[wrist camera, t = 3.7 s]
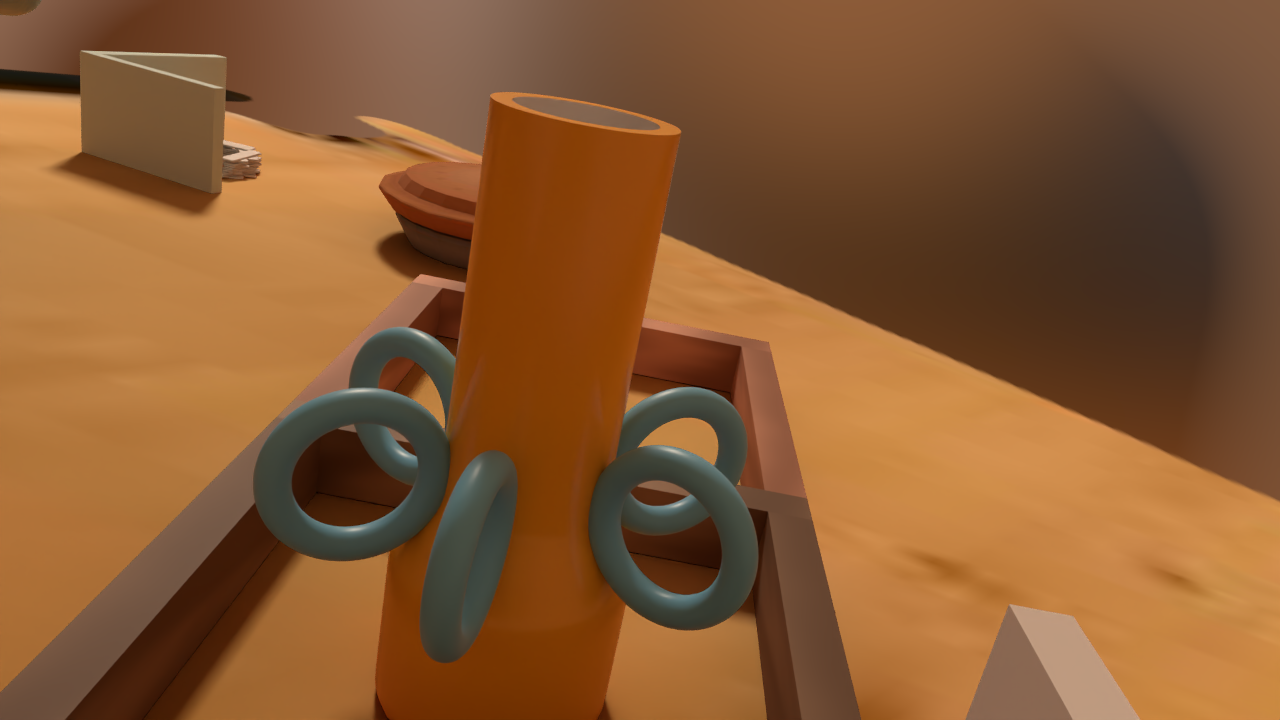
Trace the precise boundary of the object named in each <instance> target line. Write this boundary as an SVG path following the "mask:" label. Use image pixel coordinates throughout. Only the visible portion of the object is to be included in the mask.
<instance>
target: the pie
mask: <svg viewBox="0 0 1280 720" xmlns="http://www.w3.org/2000/svg"><path fill="white" fill-rule="evenodd" d="M480 173H481V164H471V163H458V162H432V163H423V164H417V165H414V166H412V167H409V168H408V169H407V170H406V171H402V172H396V173H392V174H388V175H385V176H384V178H383V179H382V181H381V183H380V185H379V189H380V190H381V192H382V193H383V195H384V196H385V198H386V199H387V201H388V202H389V203H390V205H391V206H392V208H393V209H394V210H395V211H396V215H397V218H398V220H399V222H400V224H401V226H402V228H403V230H404V232H405V234H406V236H407V238H408V240H409V241H410V243H411V244H412V246H413V247H414V248H415V249H417V250H418V251H420V252H421V253H423V254H425V255H426V256H428V257H431V258H433V259H436V260H438V261H441V262H443V263H446V264H450V265H453V266H457V267H461V268H464V269H468V264H469V256H470V249H471V241H472V234H473V226H474V218H475V211H476V203H477V196H478V188H479V180H480Z"/></svg>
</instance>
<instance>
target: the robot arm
mask: <svg viewBox="0 0 1280 720" xmlns="http://www.w3.org/2000/svg"><path fill="white" fill-rule="evenodd" d="M40 2H41V0H0V15H10V16H18V15H23V14H27V13H29V12H31V11H33V10H34V9H35V8H36V7H37V6H38V5H39V4H40ZM966 720H1140V719H1139V717H1138V715H1137V714H1136V712H1135V711H1134V709H1133V708H1132V706H1131V705H1130V703H1129V702H1128V700H1127V698H1126V697H1125V695H1124V694H1123V692H1122V691H1121V689H1120V688H1119V686H1118V685H1117V683H1116V681H1115V680H1114V678H1113V677H1112V675H1111V674H1110V672H1109V671H1108V669H1107V668H1106V666H1105V664H1104V663H1103V661H1102V660H1101V658H1100V657H1099V655H1098V654H1097V652H1096V651H1095V649H1094V647H1093V646H1092V644H1091V643H1090V641H1089V640H1088V638H1087V637H1086V635H1085V634H1084V632H1083V631H1082V629H1081V627H1080V626H1079V624H1078V623H1077V621H1076V620H1075V618H1074V617H1073V616H1070V615H1064V614H1059V613H1054V612H1048V611H1043V610H1038V609H1032V608H1027V607H1022V606H1016V605H1011V604H1009V606H1008V609H1007V611H1006V614H1005V617H1004V619H1003V622H1002V624H1001V627H1000V630H999V632H998V635H997V638H996V640H995V643H994V646H993V648H992V651H991V654H990V656H989V659H988V662H987V664H986V667H985V669H984V672H983V675H982V677H981V680H980V683H979V685H978V688H977V691H976V693H975V696H974V699H973V701H972V704H971V706H970V709H969V712H968V714H967V717H966Z"/></svg>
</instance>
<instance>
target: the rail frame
mask: <svg viewBox="0 0 1280 720" xmlns="http://www.w3.org/2000/svg"><path fill="white" fill-rule="evenodd" d="M465 287H466V283H464V282H459V281H454V280H449V279H444V278H438V277H433V276H428V275H423V274H420V275H419V276H418V277H417V278H416V279H415V280H414V281H413V282H412V283H411V284H410V285H409V286H408V287H407V288H406V289H405V290H404V291H403V292H402V293H401V294H400V295H399V296H398V297H397V298H396V299H395V300H394V301H393V302H392V303H391V304H390V305H389V306H388V307H387V308H386V309H385V310H384V311H383V312H382V313H381V314H380V315H379V316H378V317H377V318H376V319H375V320H374V321H373V322H372V323H371V324H370V325H369V326H368V327H367V328H366V329H365V330H364V331H363V332H362V333H361V334H360V335H359V336H358V337H357V338H356V339H355V340H354V341H353V342H352V343H351V344H350V345H349V346H348V347H347V348H346V349H345V350H344V351H343V352H342V353H341V354H340V355H339V356H338V357H337V358H336V359H335V360H334V361H333V362H331V363H330V364H329V365H328V366H327V367H326V368H325V369H324V370H323V371H322V372H321V373H320V374H319V375H318V376H317V377H316V378H315V379H314V380H313V381H312V382H311V383H310V384H309V385H308V386H307V387H306V388H305V389H304V390H303V391H302V392H301V393H300V394H299V395H298V396H297V397H296V398H295V399H294V400H293V401H292V402H291V403H290V404H289V405H288V406H287V407H286V408H285V409H284V410H283V411H282V412H281V413H280V414H279V415H278V416H277V417H276V418H275V419H274V420H273V421H272V422H271V423H270V424H269V425H268V426H267V427H266V428H265V429H264V430H263V431H262V432H261V433H260V434H259V435H258V436H257V437H256V438H255V439H254V440H253V441H252V442H251V443H250V444H249V445H248V446H247V447H246V448H245V449H244V450H243V451H242V452H241V453H240V454H239V455H238V456H237V457H236V458H235V459H234V460H233V461H232V462H231V463H230V464H229V465H228V466H227V467H226V468H225V469H224V470H223V471H222V472H221V473H220V474H219V475H218V476H217V477H216V478H215V479H214V480H213V481H212V482H211V483H210V484H209V485H208V486H207V487H206V488H205V489H204V490H203V491H202V492H201V493H200V494H199V495H198V496H197V497H196V498H195V499H194V500H193V501H192V502H191V503H190V504H189V505H188V506H187V507H186V508H185V509H184V510H183V511H182V512H181V513H180V514H179V515H178V516H177V517H176V518H175V519H174V520H173V521H172V522H171V523H170V524H169V525H168V526H167V527H166V528H165V529H164V530H163V531H162V532H161V533H160V534H159V535H158V536H157V537H156V538H155V539H154V540H153V541H152V542H151V543H150V544H149V545H148V546H147V547H146V548H145V549H144V550H143V551H142V552H141V553H140V554H139V555H138V556H137V557H136V558H135V559H134V560H133V561H132V562H131V563H130V564H129V565H128V566H127V567H126V568H125V569H124V570H123V571H122V572H121V573H120V574H119V575H118V576H117V577H116V578H115V579H114V580H113V581H112V582H111V583H110V584H109V585H108V586H107V587H106V588H105V589H104V590H103V591H102V592H101V593H100V594H99V595H98V596H97V597H96V598H95V599H94V600H93V601H92V602H91V603H90V604H89V605H88V606H87V607H86V608H85V609H84V610H83V611H82V612H81V613H80V614H79V615H78V616H77V617H76V618H75V619H74V620H73V621H72V622H71V623H70V624H69V625H68V626H67V627H66V628H65V629H64V630H63V631H62V632H61V633H60V634H59V635H58V636H57V637H56V638H55V639H54V640H53V641H52V642H51V643H50V644H49V645H48V646H47V647H46V648H45V649H44V650H43V651H42V652H41V653H40V654H39V655H38V656H37V657H36V658H35V659H34V660H33V661H32V662H31V663H30V664H29V665H28V666H27V667H26V668H25V669H24V670H22V671H21V672H20V673H19V674H18V675H17V676H16V677H15V678H14V679H13V680H12V681H11V682H10V683H9V684H8V685H7V686H6V687H5V688H4V689H3V690H2V691H1V692H0V720H142V719H143V718H144V717H145V715H146V714H147V713H148V712H149V710H150V709H151V708H152V706H153V705H154V704H155V702H156V701H157V700H158V699H159V697H160V696H161V695H162V693H163V692H164V691H165V689H166V688H167V687H168V685H169V684H170V683H171V682H172V680H173V679H174V678H175V676H176V675H177V674H178V672H179V671H180V670H181V668H182V667H183V666H184V665H185V663H186V662H187V661H188V659H189V658H190V657H191V655H192V654H193V653H194V651H195V650H196V649H197V648H198V646H199V645H200V644H201V642H202V641H203V640H204V638H205V637H206V636H207V634H208V633H209V632H210V631H211V629H212V628H213V627H214V625H215V624H216V623H217V621H218V620H219V619H220V618H221V616H222V615H223V614H224V612H225V611H226V610H227V608H228V607H229V606H230V604H231V603H232V602H233V601H234V599H235V598H236V597H237V595H238V594H239V593H240V591H241V590H242V589H243V587H244V586H245V585H246V584H247V582H248V581H249V580H250V578H251V577H252V576H253V574H254V573H255V572H256V570H257V569H258V568H259V567H260V565H261V564H262V563H263V561H264V560H265V559H266V557H267V556H268V555H269V554H270V552H271V551H272V550H273V548H274V547H275V546H276V544H277V543H278V542H279V540H278V539H277V538H276V537H275V536H274V535H273V534H272V533H271V532H270V530H269V529H268V528H267V526H266V525H265V524H264V522H263V520H262V519H261V517H260V515H259V512H258V510H257V507H256V504H255V500H254V494H253V474H254V468H255V464H256V461H257V458H258V455H259V453H260V450H261V448H262V446H263V444H264V443H265V441H266V439H267V438H268V436H269V435H270V434H271V432H272V431H273V430H274V428H275V427H276V426H277V425H278V424H279V423H280V422H281V421H282V420H283V419H284V418H285V417H286V416H288V415H289V414H290V413H291V412H293V411H294V410H295V409H297V408H298V407H300V406H301V405H303V404H305V403H307V402H308V401H310V400H312V399H315V398H317V397H319V396H322V395H325V394H327V393H331V392H334V391H339V390H344V389H348V388H349V377H350V372H351V368H352V365H353V362H354V359H355V357H356V355H357V353H358V352H359V350H360V348H361V347H362V346H363V345H364V343H365V342H366V341H367V340H368V339H369V338H371V337H372V336H373V335H375V334H376V333H378V332H380V331H382V330H385V329H388V328H393V327H408V328H413V329H417V330H420V331H422V332H425V333H427V334H429V335H430V336H432V337H434V338H435V337H436V335H439V336H444V337H449V338H454V339H459V332H460V325H461V317H462V310H463V302H464V294H465ZM415 363H416V362H414V361H412V360H410V359H408V358H405V357H396V358H393V359H391V360H390V361H389V362H388V363H387V364H386V365H385V367H384V368H383V370H382V373H381V376H380V380H379V387H378V389H384V390H388V391H392V392H394V390H395V389H396V388H397V386H398V385H399V384H400V382H401V381H402V380H403V378H404V377H405V376H406V375H407V373H408V372H409V371H410V369H411V368H412V367H413V365H414V364H415ZM633 373H634V374H639V375H644V376H649V377H655V378H660V379H665V380H670V381H675V382H680V383H685V384H690V385H696V386H701V387H706V388H711V389H716V390H721V391H726V392H730V394H731V403H732V405H733V406H734V407H735V409H736V410H737V411H738V413H739V415H740V416H741V418H742V420H743V423H744V425H745V429H746V433H747V441H748V450H747V458H746V463H745V467H744V470H743V473H742V475H741V478H740V482H741V486H740V485H737V486H736V487H735V488H736V490H737V491H738V493H739V494H740V496H741V497H742V499H743V501H744V502H745V504H746V506H747V508H748V510H749V513H750V515H751V518H752V521H753V524H754V527H755V531H756V535H757V541H758V568H757V574H756V578H755V581H754V584H753V587H752V588H753V597H754V606H755V615H756V623H757V632H758V641H759V650H760V659H761V668H762V676H763V685H764V694H765V703H766V712H767V720H861V717H860V713H859V709H858V705H857V701H856V697H855V693H854V688H853V684H852V680H851V676H850V672H849V668H848V664H847V660H846V656H845V652H844V648H843V644H842V639H841V635H840V631H839V627H838V623H837V619H836V615H835V611H834V607H833V603H832V599H831V595H830V590H829V586H828V582H827V578H826V574H825V570H824V566H823V562H822V558H821V554H820V550H819V546H818V542H817V537H816V533H815V529H814V525H813V521H812V517H811V513H810V509H809V505H808V501H807V497H806V493H805V488H804V484H803V480H802V476H801V472H800V468H799V464H798V460H797V456H796V452H795V448H794V444H793V439H792V435H791V431H790V427H789V423H788V419H787V415H786V411H785V407H784V403H783V399H782V395H781V390H780V386H779V382H778V378H777V374H776V370H775V366H774V362H773V358H772V354H771V350H770V346H769V342H765V341H759V340H754V339H749V338H744V337H739V336H734V335H729V334H724V333H719V332H714V331H709V330H703V329H698V328H693V327H688V326H683V325H678V324H673V323H668V322H663V321H658V320H652V319H647V318H643V323H642V328H641V333H640V338H639V343H638V348H637V353H636V358H635V363H634V368H633ZM387 428H388V427H387ZM388 430H389V432H390V433H391V435H392V436H393V438H394V439H395V440H396V442H397V443H398V444H399V445H400V446H401V447H402V448H403V449H404V450H406V451H407V452H409V453H410V454H412V455H414V456H416V453H415V451H414V449H413V447H412V445H411V444H410V443H409V441H408V440H407V439H406V438H405V437H404V436H402V435H401V434H400V433H398V432H397V431H395V430H393V429H390V428H388ZM443 430H444V432H445V428H443ZM412 488H413V486H411V485H408V484H405V483H402V482H400V481H398V480H396V479H394V478H393V477H391V476H390V475H388V474H387V473H386V472H385V471H383V470H382V469H381V468H380V467H379V466H378V465H377V464H376V463H375V461H374V460H373V459H372V458H371V457H370V455H369V454H368V452H367V451H366V449H365V448H364V446H363V444H362V442H361V440H360V438H359V436H358V434H357V432H356V429H355V426H354V424H353V425H348V426H344V427H340V428H338V429H335V430H333V431H330V432H328V433H326V434H325V435H323V436H321V437H320V438H318V439H317V440H316V441H314V442H313V443H312V444H311V445H310V446H309V447H308V448H307V449H306V450H305V451H304V452H303V454H302V455H301V456H300V458H299V460H298V461H297V463H296V466H295V468H294V471H293V475H292V492H293V496H294V498H295V500H296V502H297V504H298V506H299V507H300V508H301V509H302V510H303V509H304V508H305V506H306V505H307V504H308V503H309V501H310V500H311V499H312V497H313V496H314V495H315V493H316V492H319V493H325V494H330V495H335V496H340V497H346V498H351V499H356V500H361V501H367V502H372V503H377V504H382V505H388V506H393V507H398V506H399V505H400V504H401V503H402V502H403V501H404V500H405V499H406V497H407V496H408V495H409V493H410V491H411V490H412ZM631 494H632V495H633V497H634V498H635V499H636V500H638V501H639V502H641V503H643V504H646V505H650V506H664V505H669V504H672V503H675V502H678V501H680V500H682V499H684V498H686V497H687V496H689V495H690V493H689V492H687V491H686V490H684V489H683V488H681V487H679V486H677V485H675V484H672V483H669V482H665V481H648V482H644V483H642V484H639V485H638V486H636V487H635V488H634V489H633V490H632V491H631ZM621 529H622V535H623V539H624V542H625V545H626V548H627V550H628V551H629V552H634V553H640V554H645V555H650V556H655V557H660V558H666V559H671V560H676V561H681V562H687V563H692V564H697V565H702V566H708V567H713V568H718V569H720V568H721V562H722V547H721V541H720V537H719V534H718V531H717V528H716V526H715V524H714V522H713V520H712V518H711V516H709V517H708V518H706V519H705V520H704V521H702V522H700V523H699V524H697V525H695V526H693V527H691V528H689V529H686V530H684V531H681V532H678V533H674V534H669V535H660V536H652V535H644V534H639V533H636V532H633V531H630V530H628V529H626V528H624V527H623V526H621Z"/></svg>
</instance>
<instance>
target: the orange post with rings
mask: <svg viewBox="0 0 1280 720" xmlns="http://www.w3.org/2000/svg"><path fill="white" fill-rule="evenodd" d="M680 135H681V131H680V129H679V128H677V127H675V126H673V125H671V124H669V123H666V122H663V121H661V120H657V119H655V118H651V117H648V116H645V115H641V114H637V113H634V112H630V111H626V110H622V109H617V108H613V107H608V106H604V105H599V104H594V103H589V102H584V101H578V100H572V99H566V98H560V97H553V96H546V95H538V94H528V93H515V92H501V93H493V94H491V97H490V104H489V111H488V119H487V127H486V134H485V143H484V150H483V157H482V165H481V173H480V180H479V188H478V196H477V203H476V211H475V218H474V226H473V234H472V241H471V249H470V256H469V264H468V272H467V279H466V287H465V294H464V302H463V310H462V317H461V325H460V332H459V339H458V347H457V354H456V359H455V357H454V356H453V355H452V354H451V353H450V351H449V350H448V349H447V348H446V347H445V346H444V345H443V344H441V343H440V342H439V341H438V340H436V339H435V338H434V337H432V336H430V335H429V334H427V333H425V332H422V331H420V330H417V329H413V328H408V327H393V328H388V329H385V330H382V331H380V332H378V333H376V334H375V335H373V336H372V337H371V338H369V339H368V340H367V341H366V342H365V343H364V345H363V346H362V347H361V348H360V350H359V352H358V353H357V355H356V357H355V359H354V362H353V365H352V368H351V372H350V377H349V388H348V389H344V390H339V391H334V392H331V393H327V394H325V395H322V396H319V397H317V398H315V399H312V400H310V401H308V402H307V403H305V404H303V405H301V406H300V407H298V408H297V409H295V410H294V411H293V412H291V413H290V414H289V415H288V416H286V417H285V418H284V419H283V420H282V421H281V422H280V423H279V424H278V425H277V426H276V427H275V428H274V430H273V431H272V432H271V434H270V435H269V436H268V438H267V439H266V441H265V443H264V444H263V446H262V448H261V450H260V453H259V455H258V458H257V461H256V464H255V468H254V474H253V494H254V500H255V504H256V507H257V510H258V512H259V515H260V517H261V519H262V520H263V522H264V524H265V525H266V526H267V528H268V529H269V530H270V532H271V533H272V534H273V535H274V536H275V537H276V538H277V539H278V540H280V541H281V542H282V543H284V544H285V545H286V546H288V547H290V548H291V549H293V550H295V551H297V552H299V553H301V554H304V555H307V556H310V557H313V558H317V559H322V560H329V561H354V560H361V559H366V558H370V557H374V556H377V555H380V554H383V553H386V552H388V551H390V553H389V558H388V565H387V574H386V583H385V592H384V600H383V609H382V618H381V627H380V636H379V645H378V654H377V663H376V674H375V684H376V691H377V695H378V698H379V702H380V704H381V706H382V708H383V710H384V712H385V715H386V717H387V718H388V719H389V720H597V719H598V717H599V715H600V713H601V711H602V708H603V704H604V700H605V696H606V692H607V688H608V684H609V679H610V674H611V670H612V665H613V661H614V656H615V652H616V647H617V643H618V638H619V633H620V629H621V624H622V620H623V615H624V611H625V606H626V605H628V606H629V607H630V608H631V609H632V610H634V611H635V612H636V613H638V614H639V615H641V616H642V617H644V618H646V619H648V620H650V621H652V622H654V623H656V624H658V625H661V626H664V627H667V628H672V629H677V630H701V629H706V628H709V627H712V626H715V625H717V624H719V623H721V622H723V621H725V620H726V619H728V618H729V617H731V616H732V615H733V614H734V613H735V612H736V611H737V610H738V609H739V608H740V607H741V606H742V605H743V603H744V602H745V600H746V599H747V597H748V596H749V594H750V592H751V589H752V587H753V584H754V581H755V578H756V574H757V568H758V541H757V535H756V531H755V527H754V524H753V521H752V518H751V515H750V513H749V510H748V508H747V506H746V504H745V502H744V501H743V499H742V497H741V496H740V494H739V493H738V491H737V490H736V488H735V487H736V486H737V484H738V482H739V480H740V478H741V475H742V473H743V470H744V467H745V463H746V458H747V450H748V441H747V433H746V429H745V425H744V423H743V420H742V418H741V416H740V415H739V413H738V411H737V410H736V409H735V407H734V406H733V405H732V404H731V403H730V402H729V401H728V400H726V399H725V398H724V397H722V396H720V395H719V394H717V393H715V392H712V391H710V390H706V389H702V388H697V387H679V388H673V389H669V390H665V391H662V392H659V393H657V394H654V395H652V396H650V397H648V398H646V399H644V400H643V401H641V402H640V403H638V404H637V405H635V406H634V407H633V408H632V409H630V410H629V411H628V412H627V413H626V414H625V409H626V403H627V398H628V393H629V388H630V383H631V378H632V373H633V368H634V363H635V358H636V353H637V348H638V343H639V338H640V333H641V328H642V323H643V318H644V313H645V308H646V303H647V298H648V293H649V288H650V283H651V278H652V273H653V268H654V263H655V258H656V253H657V249H658V244H659V239H660V234H661V229H662V224H663V218H664V214H665V209H666V203H667V199H668V194H669V189H670V184H671V179H672V174H673V169H674V164H675V159H676V154H677V149H678V144H679V140H680ZM396 357H405V358H408V359H410V360H412V361H414V362H416V363H417V364H418V365H420V366H421V367H422V368H423V369H424V370H425V371H426V372H427V374H428V375H429V376H430V378H431V379H432V381H433V382H434V384H435V386H436V388H437V390H438V392H439V394H440V397H441V400H442V404H443V408H444V413H445V432H444V430H443V428H442V427H441V425H440V424H439V422H438V421H437V420H436V418H435V417H434V416H433V415H432V414H431V413H430V412H429V411H428V410H427V409H425V408H424V407H423V406H422V405H420V404H419V403H417V402H416V401H414V400H412V399H410V398H408V397H406V396H404V395H401V394H399V393H396V392H392V391H388V390H384V389H378V387H379V380H380V376H381V373H382V370H383V368H384V367H385V365H386V364H387V363H388V362H389V361H390V360H391V359H393V358H396ZM624 414H625V415H624ZM680 418H698V419H701V420H704V421H705V422H707V423H708V424H710V425H711V426H712V427H713V429H714V430H715V432H716V435H717V438H718V455H717V459H716V462H715V465H714V466H713V465H712V464H710V463H709V462H707V461H706V460H704V459H703V458H701V457H699V456H697V455H695V454H693V453H691V452H689V451H686V450H683V449H680V448H676V447H671V446H664V445H651V446H644V447H639V448H637V447H638V446H639V445H640V443H641V442H642V441H643V440H644V439H645V438H646V437H647V436H648V435H649V434H650V433H651V432H652V431H654V430H655V429H657V428H658V427H660V426H661V425H663V424H665V423H667V422H670V421H672V420H675V419H680ZM353 424H354V426H355V429H356V432H357V434H358V436H359V438H360V440H361V442H362V444H363V446H364V448H365V449H366V451H367V452H368V454H369V455H370V457H371V458H372V459H373V460H374V461H375V463H376V464H377V465H378V466H379V467H380V468H381V469H382V470H383V471H385V472H386V473H387V474H388V475H390V476H391V477H393V478H394V479H396V480H398V481H400V482H402V483H405V484H408V485H411V486H413V488H412V490H411V491H410V493H409V495H408V496H407V497H406V499H405V500H404V501H403V502H402V503H401V504H400V505H399V506H398V507H397V508H396V509H394V510H393V511H392V512H390V513H389V514H387V515H385V516H384V517H382V518H380V519H378V520H375V521H373V522H370V523H367V524H363V525H358V526H349V527H340V526H332V525H327V524H324V523H321V522H319V521H316V520H315V519H313V518H311V517H310V516H308V515H307V514H306V513H305V512H304V511H303V510H302V509H301V508H300V507H299V506H298V504H297V502H296V500H295V498H294V496H293V492H292V475H293V471H294V468H295V466H296V463H297V461H298V460H299V458H300V456H301V455H302V454H303V452H304V451H305V450H306V449H307V448H308V447H309V446H310V445H311V444H312V443H313V442H314V441H316V440H317V439H318V438H320V437H321V436H323V435H325V434H326V433H328V432H330V431H333V430H335V429H338V428H340V427H344V426H348V425H353ZM387 427H388V428H390V429H393V430H395V431H397V432H398V433H400V434H401V435H402V436H404V437H405V438H406V439H407V440H408V441H409V443H410V444H411V445H412V447H413V449H414V451H415V453H416V456H414V455H412V454H410V453H409V452H407V451H406V450H404V449H403V448H402V447H401V446H400V445H399V444H398V443H397V442H396V440H395V439H394V438H393V436H392V435H391V433H390V432H389V430H388V428H387ZM648 481H665V482H669V483H672V484H675V485H677V486H679V487H681V488H683V489H684V490H686V491H687V492H689V493H690V495H689V496H687V497H686V498H684V499H682V500H680V501H678V502H675V503H672V504H669V505H664V506H650V505H646V504H643V503H641V502H639V501H638V500H636V499H635V498H634V497H633V495H632V494H631V491H632V490H633V489H634V488H635V487H636V486H638V485H639V484H642V483H644V482H648ZM709 516H711V518H712V520H713V522H714V524H715V526H716V528H717V531H718V534H719V537H720V541H721V547H722V562H721V568H720V571H719V574H718V576H717V578H716V580H715V581H714V582H713V584H712V585H711V586H710V587H709V588H707V589H706V590H704V591H702V592H700V593H697V594H692V595H682V594H676V593H673V592H670V591H667V590H665V589H663V588H661V587H659V586H658V585H656V584H655V583H653V582H652V581H651V580H650V579H648V578H647V577H646V576H645V575H644V574H643V573H642V572H641V571H640V569H639V568H638V567H637V565H636V564H635V563H634V561H633V559H632V558H631V556H630V554H629V552H628V550H627V548H626V545H625V542H624V539H623V535H622V529H621V526H623V527H624V528H626V529H628V530H630V531H633V532H636V533H639V534H644V535H652V536H660V535H669V534H674V533H678V532H681V531H684V530H686V529H689V528H691V527H693V526H695V525H697V524H699V523H700V522H702V521H704V520H705V519H706V518H708V517H709Z"/></svg>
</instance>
